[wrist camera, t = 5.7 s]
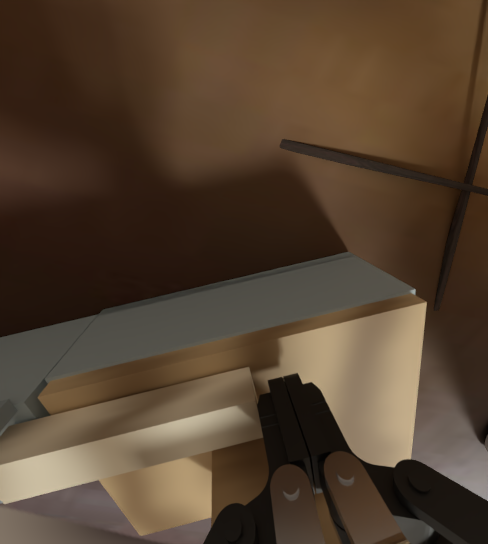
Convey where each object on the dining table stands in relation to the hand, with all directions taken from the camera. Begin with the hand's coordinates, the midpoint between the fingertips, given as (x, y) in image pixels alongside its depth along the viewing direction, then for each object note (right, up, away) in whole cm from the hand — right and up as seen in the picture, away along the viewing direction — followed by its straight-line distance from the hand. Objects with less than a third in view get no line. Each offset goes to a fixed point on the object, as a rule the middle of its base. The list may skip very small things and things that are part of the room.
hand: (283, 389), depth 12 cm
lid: (-1, -4, +4) cm, 5 cm away
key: (-7, -2, +1) cm, 7 cm away
